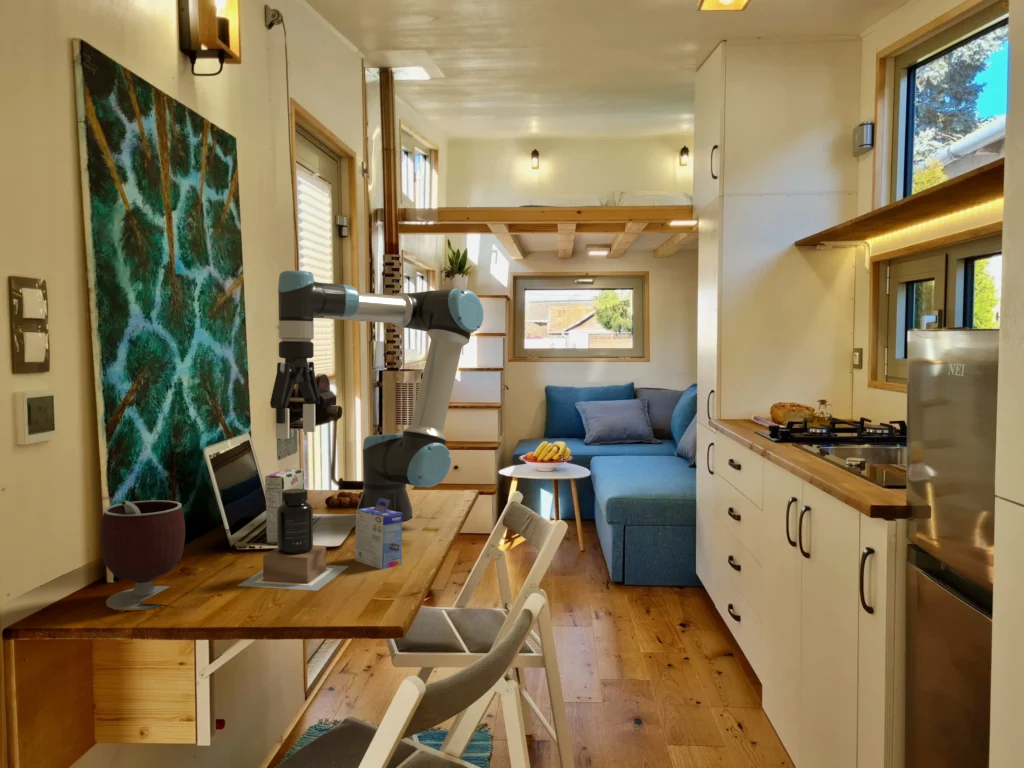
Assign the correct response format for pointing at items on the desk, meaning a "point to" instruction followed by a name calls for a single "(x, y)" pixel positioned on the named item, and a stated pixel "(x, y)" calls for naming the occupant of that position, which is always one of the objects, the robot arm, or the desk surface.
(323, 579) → the grey square plate
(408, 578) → the desk surface
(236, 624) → the desk surface
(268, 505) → the candy bar box
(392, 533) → the ink cartridge box
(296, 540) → the supplement bottle
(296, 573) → the walnut block
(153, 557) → the mate gourd
